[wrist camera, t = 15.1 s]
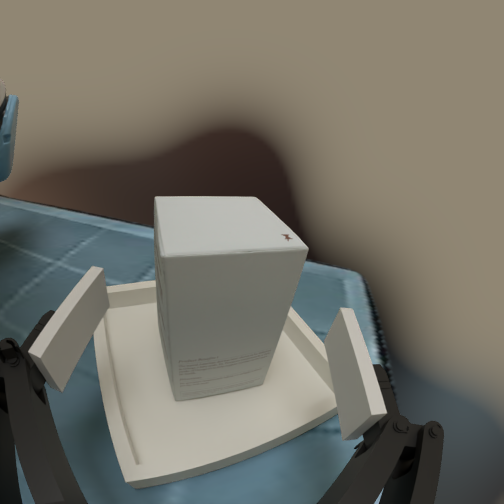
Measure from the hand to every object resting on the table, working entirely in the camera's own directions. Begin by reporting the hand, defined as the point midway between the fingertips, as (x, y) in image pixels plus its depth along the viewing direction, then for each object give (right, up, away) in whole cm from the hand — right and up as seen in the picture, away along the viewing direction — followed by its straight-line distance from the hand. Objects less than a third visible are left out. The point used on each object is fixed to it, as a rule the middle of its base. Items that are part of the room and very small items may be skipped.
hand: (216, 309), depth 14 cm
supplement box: (-2, -6, +7) cm, 9 cm away
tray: (-2, -7, +8) cm, 10 cm away
